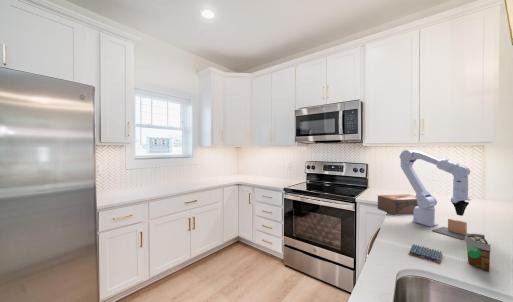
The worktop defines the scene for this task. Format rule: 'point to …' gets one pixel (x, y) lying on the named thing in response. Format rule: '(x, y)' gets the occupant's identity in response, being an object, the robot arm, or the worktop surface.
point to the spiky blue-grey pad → (426, 253)
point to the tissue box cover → (397, 203)
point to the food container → (478, 251)
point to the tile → (457, 226)
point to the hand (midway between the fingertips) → (459, 215)
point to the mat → (449, 233)
